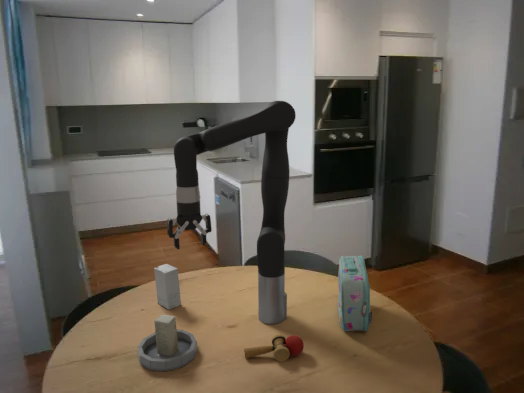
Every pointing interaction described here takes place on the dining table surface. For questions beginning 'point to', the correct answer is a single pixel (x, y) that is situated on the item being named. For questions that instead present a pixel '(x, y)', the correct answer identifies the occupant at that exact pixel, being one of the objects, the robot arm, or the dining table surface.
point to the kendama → (278, 348)
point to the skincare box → (167, 286)
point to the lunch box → (353, 294)
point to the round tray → (164, 362)
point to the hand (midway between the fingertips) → (190, 246)
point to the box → (166, 335)
